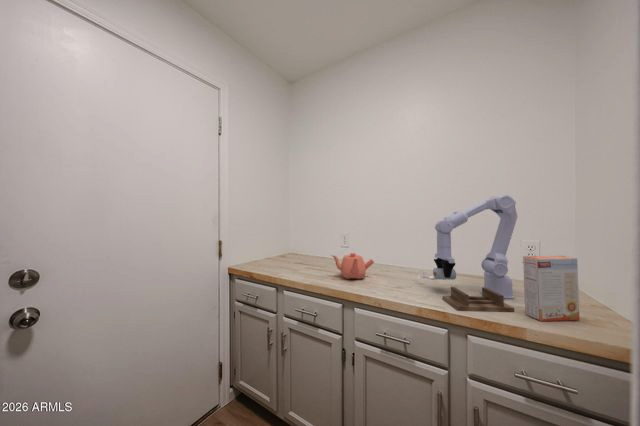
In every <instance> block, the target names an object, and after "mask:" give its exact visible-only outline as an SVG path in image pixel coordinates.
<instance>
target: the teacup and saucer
mask: <svg viewBox="0 0 640 426" xmlns="http://www.w3.org/2000/svg"><path fill="white" fill-rule="evenodd" d="M419 273H420V275H418V277H417V278H418V279H421V280H423V279H424V280H436V279H435V278H434V276H433V275H430V276H429V271H428V270H422V271H420V272H419Z"/></svg>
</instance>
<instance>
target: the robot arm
mask: <svg viewBox="0 0 640 426" xmlns="http://www.w3.org/2000/svg"><path fill="white" fill-rule="evenodd" d="M516 204H517V202H516V201H515V199H514V198H513V197H512V196H510V195H508V194H501V195H496V196H491V197H489V198H486V199H484V200H481V201H479V202H478V203H476V204H474V205H473V206H471V207H469V208H468V209H466V210H465V211H464V210H463V211H462V210H461V211H460V210H459V211H454V212H453V214H451V215H450V216H448V217H443V220H442V219H441V220H438V221H437V222H436V224H435V225H434V229H435V230H436V253H434V258H433V261H434V263H435V265H436V268H443V271H444V277H445V278H450V276H451V272H452V269H454V267H455V266H456V262H455V261H456V260H455V258H454V257H453V256H452V236H451V235H452V234H451V233H452V231H453V230H454V229H456V228H458V227H460V226H461V225H464V224H465V223H467V222H468V219H469V218H470V217H473V216H476V215H477V214H479V213H481V212H484V211H486V210H491V211H492V212H493V213H495V214H496V215H497V216H498V218H500V219H499V223H498V226H497V230H496V233H495V236H494V239H493V242H492V245H491V249H490V252H488V253H487V254H486V255H485V258H484V259H483V260H482V261H481V268H482V270H483V271H484V272H483V273H484V274H483V276H484V277H483V284H484V286H483V287H485V288H488V289H490V290H492V291H494V292H497V293H499V294H501V295H503V296H504V299H515V297H514V296H513V294H514V293H513V292H514V291H513V281H512V278H511V277H510V276H508V275H507V273H508V272H509V268H508V263H509V260H508V258H507V256H506V255H507V252H508V248H509V246H510V242H511V239H512V237H513V236H512V235H513V233H514V230H515V226H516V223H517V220H518V213H517V208H516ZM479 293H481V294H482V290H480V291H479Z"/></svg>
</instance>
